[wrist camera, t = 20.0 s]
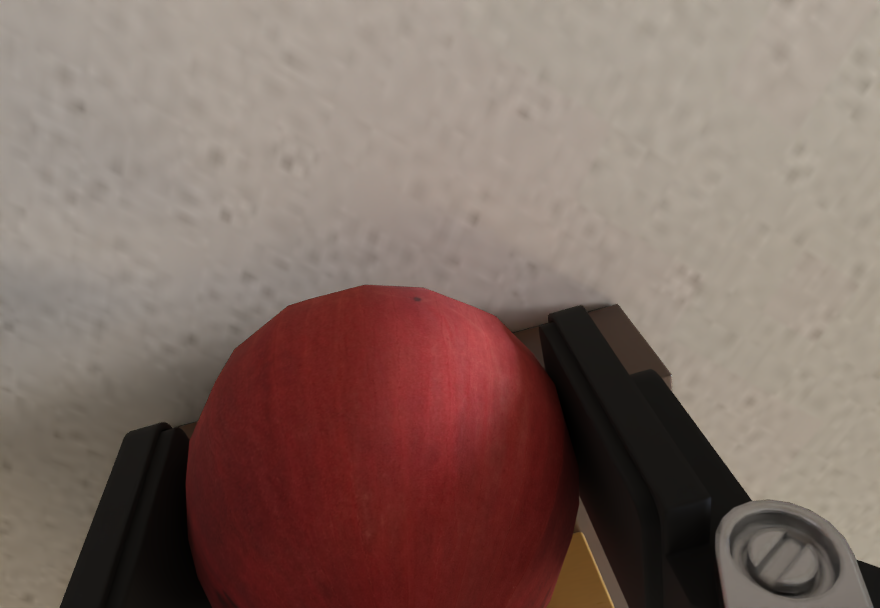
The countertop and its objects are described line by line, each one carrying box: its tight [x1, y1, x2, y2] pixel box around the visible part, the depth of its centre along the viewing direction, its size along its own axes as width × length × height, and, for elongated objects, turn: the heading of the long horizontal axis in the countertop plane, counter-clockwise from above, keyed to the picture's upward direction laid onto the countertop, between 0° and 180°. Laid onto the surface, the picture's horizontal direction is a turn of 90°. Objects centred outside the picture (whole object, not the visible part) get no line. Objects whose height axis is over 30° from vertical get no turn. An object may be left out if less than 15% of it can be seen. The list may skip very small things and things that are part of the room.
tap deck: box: [176, 304, 672, 608], centre depth 18 cm, size 12×11×3 cm
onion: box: [186, 285, 579, 608], centre depth 9 cm, size 6×6×8 cm
